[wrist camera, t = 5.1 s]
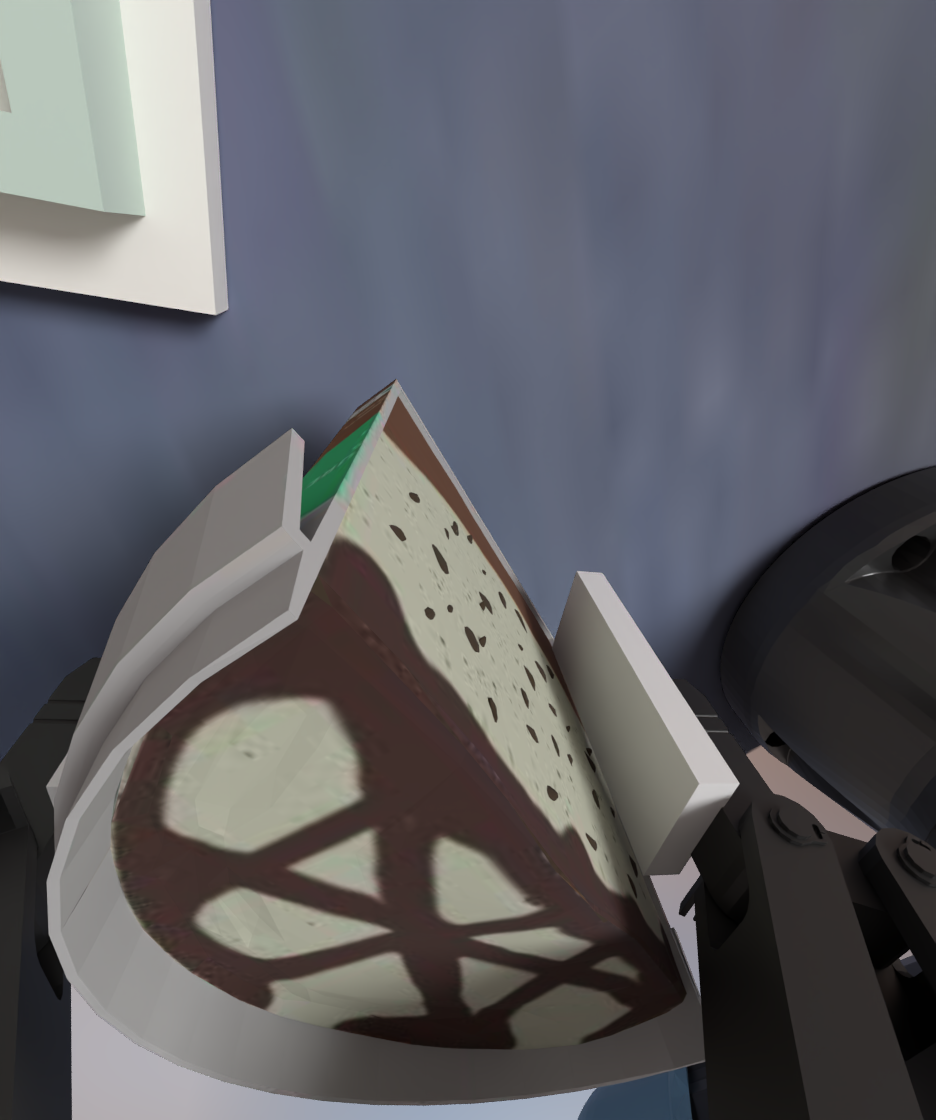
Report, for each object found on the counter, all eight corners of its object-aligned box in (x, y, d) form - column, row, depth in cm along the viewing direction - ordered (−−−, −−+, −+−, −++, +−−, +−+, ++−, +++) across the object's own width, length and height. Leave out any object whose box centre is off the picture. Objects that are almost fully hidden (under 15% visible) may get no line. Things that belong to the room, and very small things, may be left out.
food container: (143, 455, 12) (-440, 930, 4) (359, 317, 11) (223, 543, 3) (415, 737, 18) (426, 1156, 10) (570, 665, 17) (729, 1064, 9)
